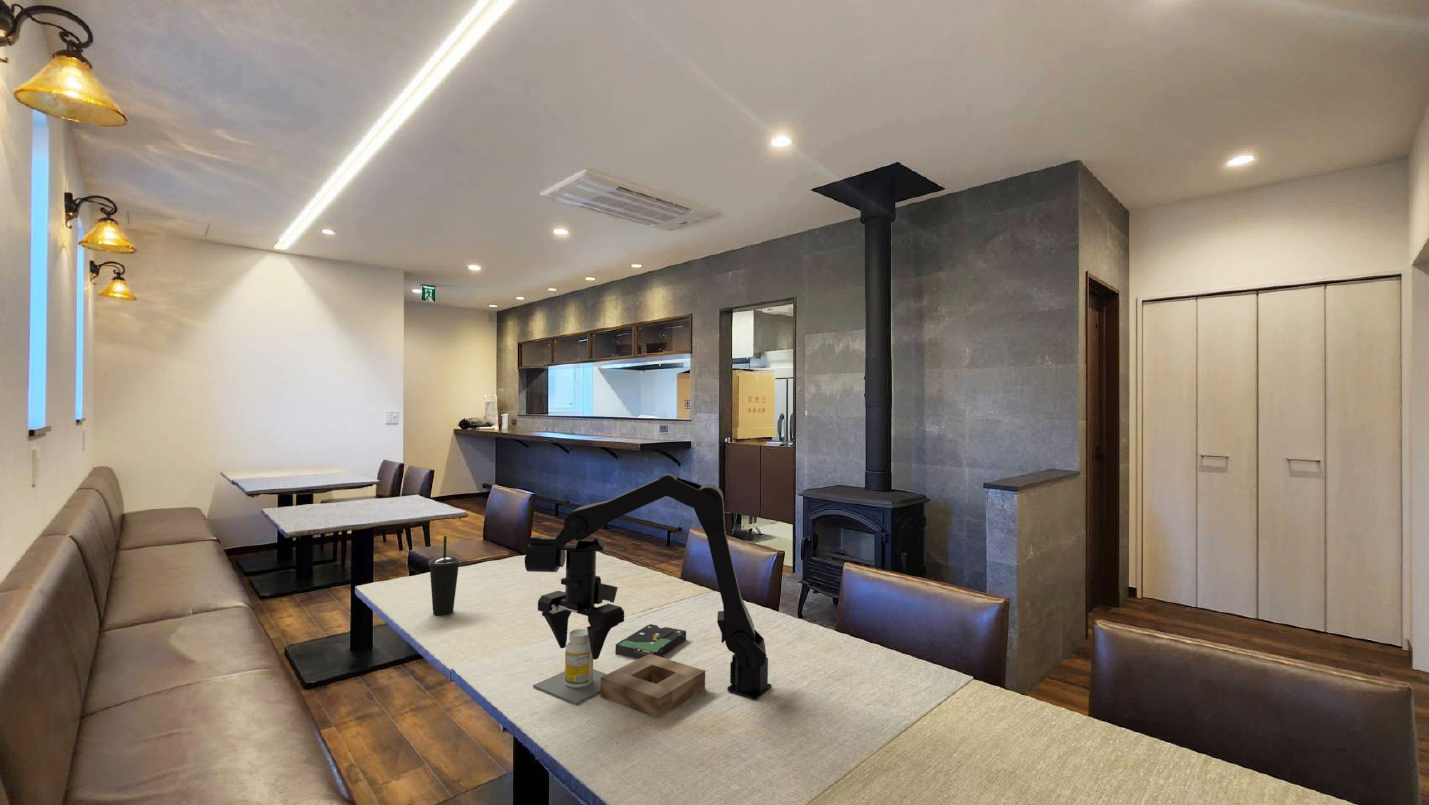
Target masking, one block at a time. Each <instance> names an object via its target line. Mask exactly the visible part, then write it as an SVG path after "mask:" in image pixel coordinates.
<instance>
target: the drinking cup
mask: <svg viewBox="0 0 1429 805" xmlns="http://www.w3.org/2000/svg"><path fill="white" fill-rule="evenodd" d="M447 538H448V537H447V535H444V536H443V551H442V552H443V553H442V555H440V556H439V555H438V556H436V557H434V558H433V559H430V560H428V565H429V571H430V572H429V574H430V586H431V588H430V589H431V590H430V591H431V603H432V613H433V614H432V615H434V616H439V617H440V616H447V615H451V614H453V613H454V608H455V598H456V591H457V581H458V575H459V565H460V562H461V558H459V557H456V556H454V555H448V554H447Z"/></svg>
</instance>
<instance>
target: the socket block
mask: <svg viewBox="0 0 1429 805" xmlns="http://www.w3.org/2000/svg"><path fill="white" fill-rule="evenodd" d="M606 674H607V675H604V676H602V677H601V687H600V693H599V694H600V695H599V696H600V697H601V698H603V699H606V700H608V699H609V701H611V702H614V703H617V704H619V705H622V706H623V707H627V708H629V709H632V710H634V711H637V712H640V713H642V714H645V715H648V716H650V717H651V718H654V719H658V720H660V719H661V718H662V717H663V716H665V715H666V714H668V713H670V712H671V711H673V710H675V709H677V708H678V707H679V706H681V705H682V704H684V703H685V702H688V700H690V699H692V698H693V697H695V696H697V695H698V694H700V693H701V692H703V691H705V690H706V670H705V669H701V668H698V667H694V666H691V665H688V664H686V663H681V662H679V661H678V662H677V661H675V660H672V659H669V658H665V657H664V656H663V657H659V656H656V655H653V654H648V655H646V656H644V657H642V658H640V659H635V660H634V661H632V662H630V663H627V664H626V665H623V666H621V667H619V668H617V669H615V670H613V671H611V672H609V673H606Z"/></svg>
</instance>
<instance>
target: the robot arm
mask: <svg viewBox="0 0 1429 805" xmlns="http://www.w3.org/2000/svg"><path fill="white" fill-rule="evenodd" d="M723 494H724V493H723V492H722V490H721V488H720V487H718V486H716V485H715V484H712V483H710V484H703V485H701V484H699V483H696V482H694V481H691V480H687V479H685V478H681V477H678V476H676V475H674V474H672V473H664V474H663V475H662V476H660V477H659V478H657V479H654V480H651V481H650V482H648V483H645V484H643V485H642V486H639V487H637V488H635V489H631V490H629V491H627V492H625V493H623V494H621V495H618V496H616V497H614V498H612V499H609V500H606V501H601V502H600V501H599V502H594V503H591V504H587V505H583V506H579V507H577V508H576V509H575V510H574V509H573V511H571V512H569V513H568V514H567V515H566V516H565V518H564V521H563V529H561V531H560V532H559V533H558V535H556V536H541V535H533V536H531V537H529V544H528V546H527V549H526V553H525V556H524V566H525V570H526V572H529V573H531V572H532V573H534V572H536V573H537V572H539V573H557V572H558V571H559V570H560V568H563V567H564V566H565V577H563V578H560V584H561V585H562V586H563V585H564V587H565V591H562V590H556V591H553V592H549V593H546V594H542V595H541V596H540V598H539V599H538V600H537V611H538V612H541V616H542V617H544V619H545V620H546V622H547V624H548V626H549V628H550V629H551V631H552V634H553V636H554V638H555V640H556V641H557V644H558V646H559V648H560V649H566V646H567V641H568V626H569V618H570V616H571V615H572V614H571V613H575V614H579V615H582V616H586V617H587V622H588V624H589V626H587V627H586V628H587V629H586V630H587V631H588V636H589V642H590V648H591V653H592V657H593V661H594V660H598V659H600V658H599V657H600V655H601V653H602V649H603V647H604V643H605V641H606V638H607V637H608V634H609V632H610V631H611V629H613V628H615V627H617V626H618V625H619V624H620V623H624V622H625V610H624V609H623V607H622V606H619V605H615V604H612V603H615V599H616V596H617V591H618V589H619V588H618V586H615V585H611V584H608V583H607V584H606V583H602V578H601V576H599V575H596V574H597V572H596V571H597V552H602V551H604V550H605V549H606V548H607V546H608V545H607V543H605V542H604V541H603V540H602V539H601V538H600V536H598V535H597V536H596V537H595V538H594V539H593V540H591V539H590V540H588V539H587V538H589V537H591V535H593V534H594V533H596V532H597V531H599V530H601V528H603V527H605V526H606V525H608V524H609V523H610V522H612V521H614V520H615V519H617V518H620V517H622V516H624V515H626V514H629V513H631V512H633V511H636V510H638V509H640V508H642V507H645V506H646V505H649V504H652V503H653V502H655V501H658V500H660V499H662V498H665V497H668V498H671V499H673V500H675V501H677V502H679V503H680V504H683V505H685V506H687V507H690V508H693V510H694V513H695V514H696V517H697V519H698V521H699V524H700V526H701V527H702V529H703V532H704V533H705V535H706V538H707V543H708V547H709V551H710V555H711V559H712V563H713V568H714V573H715V576H716V580H717V585H718V589H719V593H720V598H721V602H722V606H723V607H722V608H723V609H722V610H718V611H717V618H716V623H717V626H718V628H719V630H720V633H721V643H722V644H724V643H725V646H726V648H727V649H728V651H729V652H731V653H732V654H733V655H732V658H731V661H730V665H729V666H730V668H729V669H730V670H729V672H730V673H729V680H730V681H729V684H730V685H729V686H727V689H726V690H727V691H729V692H731V693H733V694H737V695H741V696H743V697H747V698H750V699H753V700H757V699H759V698H760V697H761V696H763V695H764V694H765V693H767V692H768V691H769V690H770V689H772V686H773V685H772V684H771V683H768V682H769V679H768V678H769V658H768V656H767V652H766V651H767V650H766V644H765V643H766V642H765V639H764V637H763V636H762V635H761V634H760V633H759V632H758V631H757V630H756V629H755V624H754V622H753V619H752V617H751V614H750V612H749V610H748V607H747V606H746V604H745V602H744V599H743V598H742V595H741V591H740V587H739V583H738V579H737V574H736V571H735V570H736V569H735V566H734V562H733V558H732V553H731V548H730V544H729V541H728V537H727V533H726V523H725V522H726V521H725V505H724V495H723ZM573 540H574V541H577V542H576V543H574V544H569V543H570V542H572V541H573ZM603 601H607V602H610V603H605V604H603V605H601V604H602V603H603ZM595 605H600V606H595Z"/></svg>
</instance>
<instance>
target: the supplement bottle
mask: <svg viewBox="0 0 1429 805" xmlns="http://www.w3.org/2000/svg"><path fill="white" fill-rule="evenodd" d="M568 639H569V642H568V643H566V647H565V654H564V655H565V658H564V660H565V661H564V663H565V664H564V666H565V667H564V671H565V684H566V685H567V686H569V687H572V688H581V687H585V686H588V685H589V684H590V683H591V682H592V680H593V669H594V659H593V657H592V653H591V648H590V642H589V636H588V631H587V629H585V628H577V629H573V630H571V631H570V632H569V638H568Z"/></svg>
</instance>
